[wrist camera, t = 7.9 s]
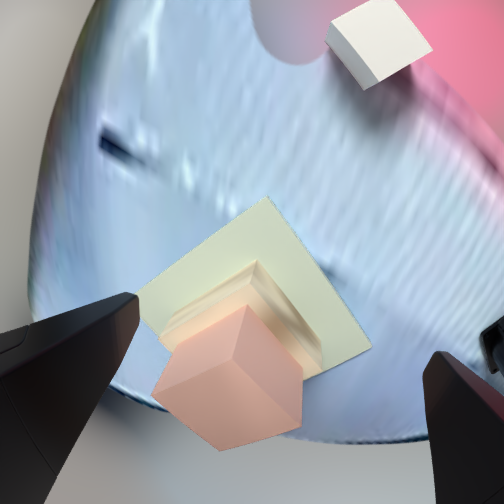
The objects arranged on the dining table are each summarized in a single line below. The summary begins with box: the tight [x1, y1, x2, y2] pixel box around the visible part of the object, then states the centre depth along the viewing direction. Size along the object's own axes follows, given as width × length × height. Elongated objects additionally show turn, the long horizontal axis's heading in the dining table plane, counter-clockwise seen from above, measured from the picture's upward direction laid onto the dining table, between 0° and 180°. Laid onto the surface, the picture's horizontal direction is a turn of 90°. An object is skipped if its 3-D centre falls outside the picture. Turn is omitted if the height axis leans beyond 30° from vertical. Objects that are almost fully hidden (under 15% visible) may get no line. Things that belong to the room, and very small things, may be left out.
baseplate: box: [134, 195, 372, 381], centre depth 24 cm, size 14×14×1 cm
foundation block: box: [158, 259, 323, 380], centre depth 22 cm, size 8×8×4 cm
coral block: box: [151, 304, 303, 451], centre depth 18 cm, size 6×6×5 cm
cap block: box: [325, 0, 433, 90], centre depth 14 cm, size 4×4×4 cm
